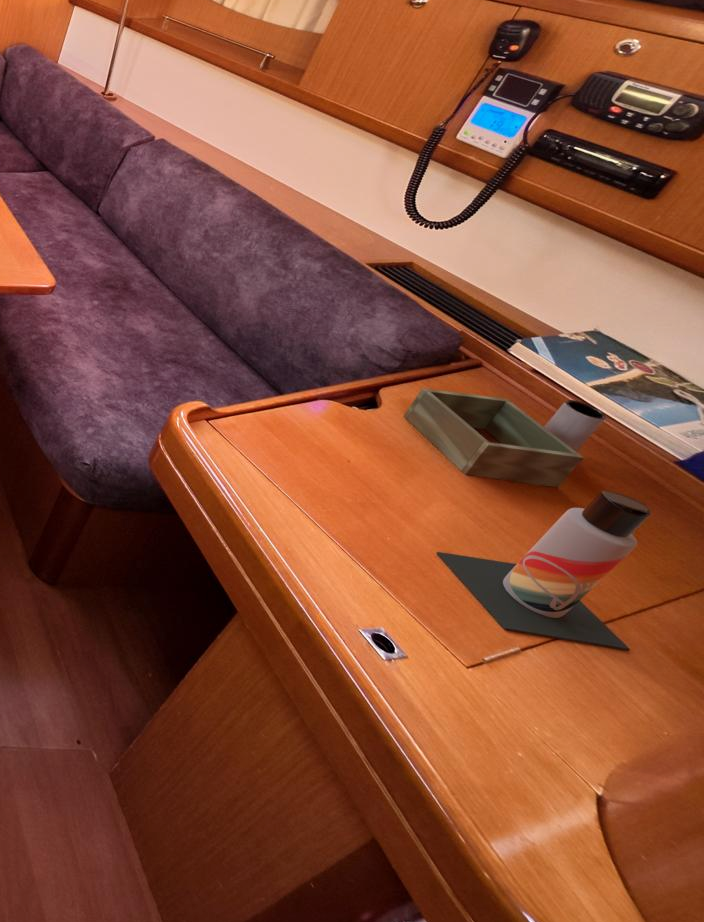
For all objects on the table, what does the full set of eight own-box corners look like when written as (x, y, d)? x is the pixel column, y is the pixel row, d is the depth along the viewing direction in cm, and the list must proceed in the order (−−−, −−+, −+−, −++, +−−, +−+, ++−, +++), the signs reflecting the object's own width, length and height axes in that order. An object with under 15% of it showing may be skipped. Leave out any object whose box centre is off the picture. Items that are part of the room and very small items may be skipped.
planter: (530, 438, 113) (565, 395, 108) (568, 453, 110) (606, 410, 105) (529, 450, 110) (565, 407, 106) (569, 466, 107) (607, 423, 103)
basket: (485, 426, 115) (506, 398, 112) (558, 487, 103) (584, 457, 100) (402, 416, 117) (422, 388, 114) (465, 474, 105) (488, 445, 102)
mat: (545, 570, 90) (547, 568, 90) (628, 650, 80) (630, 649, 80) (436, 553, 92) (437, 551, 92) (504, 630, 82) (506, 628, 82)
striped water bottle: (524, 612, 84) (622, 514, 75) (489, 573, 89) (578, 476, 80) (575, 624, 83) (682, 525, 74) (538, 583, 88) (633, 486, 79)
